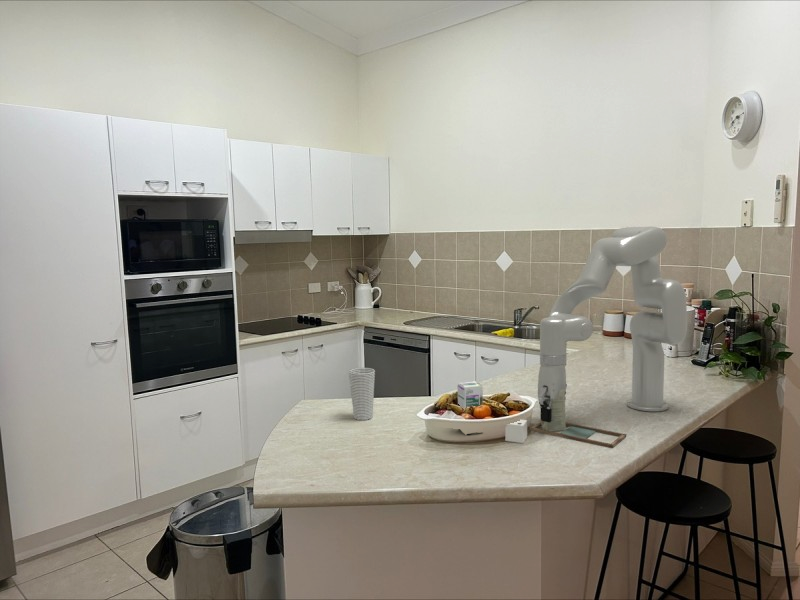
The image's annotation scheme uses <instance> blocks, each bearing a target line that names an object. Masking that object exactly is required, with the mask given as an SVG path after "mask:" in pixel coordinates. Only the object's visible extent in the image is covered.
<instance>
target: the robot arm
mask: <svg viewBox="0 0 800 600" xmlns="http://www.w3.org/2000/svg"><path fill="white" fill-rule="evenodd" d="M611 235H612V236H611V237H603V238H600V239H598V240H596V242H595V243H594V245H593V246H592V248H591V251H590V252H589V255H588V257H587V260H586V262H585V264H584V266H583V269H582V270H581V273H580V275H579V277H578V279H577V280H576V281H575V282H574V283H572V284H571V285H570V286H569V287H568V288H566V290H564V291H563V292H562V293H561V294H560V295H559V297H557V298H556V301H555V302H554V304H553V306H552V307H551V310H550V313H549V314H548V317H543V318H542V319H541V320H540V323H539V365H540V366H539V372H538V379H537V399H538V404H539V408H540V413H539V414H540V422H541V421H545V422H551V421H552V409H550V407H551V403H552V401H553V400H555V399H557V398H558V395H559V391H560V390H561V389H564V390H565V395H566V394H567V387H568V385H567V373H566V371H567V370H566V367H567V343H568V342H584V341H586V340H588V339H589V338H591V337H592V335H593V333H594V325H593V323H592V321H591V320H590V319H589V318H587V316H586V317H585V316H583V315H582V316H581V315H577V314H572V313H573V311H574V310H575V309H576V308H577V306H579V305H580V304H582V303H584V302H585V301H587V300H590V299H592V298H595V297H597V296H599V295H602V294H603V293H605V292H606V290H607V288H608V286H609V284H610V282H611V279H612V276H613V275H614V272H615V270H616V268H617V267H630V271H631V282H632V283H631V284H632V298H633V301H634V303H635V305H637V306H639V307H641V308H648V309H654V310H661V311H653V310H641V311H638V312H636V313H634V314H633V315H632V317H631V318H630V322H629V329H630V335H631V342H632V371H631V373H632V378H631V380H632V381H631V398H629V399H627V400H626V405H627V406H628V407H629V408H631V409H633V410H638V411H642V412H643V411H644V412H653V413H655V412H663V411H667V410H668V409H669V404H668V402H666V401H664V390H665V389H664V386H665V385H664V384H665V381H664V380H665V352H664V348H663V346H662V344H665V345H666V344H668V345H678V344H681V343H682V342H684V341H685V338H686V336H687V333H688V311H687V309H688V307H687V295H686V293H687V292H686V290H685V287H684V286H683V284H681V283H680V282H679V281H678V280H675V279H668V278H663V277H662V272H661V266H660V265H661V264H660V259H659V258H658V255H660V254H661V253H662V252H663V251H664V250H665V249H666V247H667V243H668V238H667V234H666V232H665V230H663V229H662V228H660V227H658V226H629V227H628V226H627V227H620V228H618V229H616V230H614V232H613V233H612V234H611ZM661 343H662V344H661ZM545 395H547V396H548V397H550V398H547V397H545ZM545 400H546V401H548V404H547V402H546V401H545ZM565 400H567V399H566V396H565Z"/></svg>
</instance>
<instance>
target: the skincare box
mask: <svg viewBox="0 0 800 600" xmlns="http://www.w3.org/2000/svg"><path fill="white" fill-rule="evenodd" d="M545 397H547V398H550V397H548V396H547V395H545ZM565 397H566V394H565V390H564V389H561V390H560V391H559V395H558V398H557V399H555V400H553V401H552V403H551V407H550V409H552V421H551V422H545V421H541V420H540V422H541V427H542V428H541V429H543V430H547V431H552V432H556V431H557V432H558V431H559V432H560V431H564V430H566V426H565V422H566V399H565ZM545 401H546V400H545ZM546 402H547V404H548V401H546Z"/></svg>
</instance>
